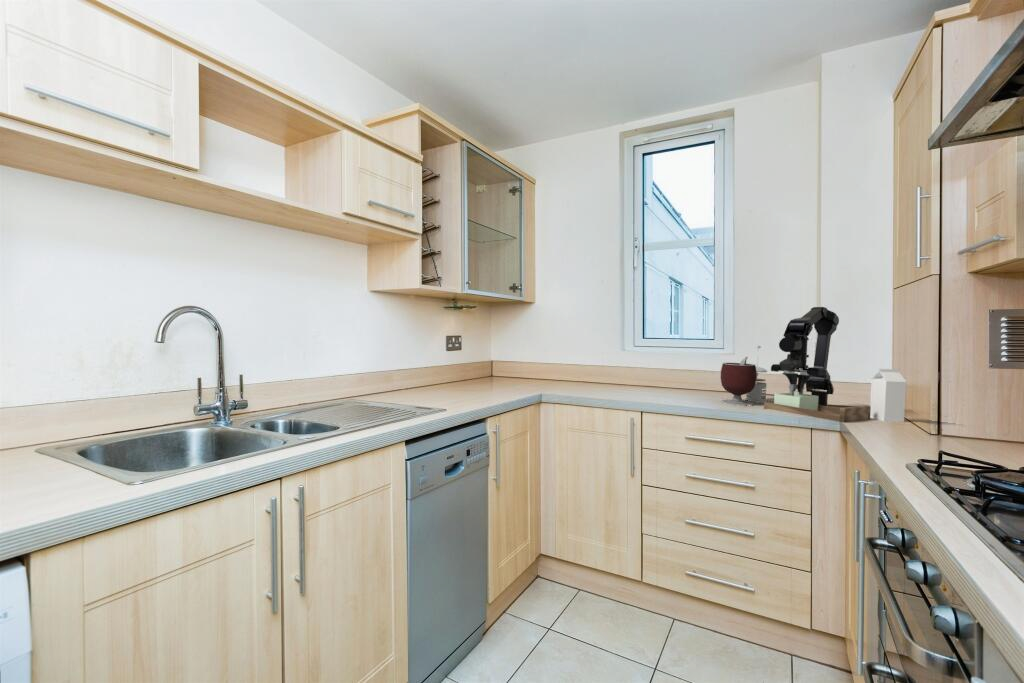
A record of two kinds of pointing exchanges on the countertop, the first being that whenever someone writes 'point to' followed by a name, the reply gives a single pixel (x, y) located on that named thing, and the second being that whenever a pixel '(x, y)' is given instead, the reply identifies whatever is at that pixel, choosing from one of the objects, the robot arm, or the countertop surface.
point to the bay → (827, 412)
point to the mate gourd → (738, 380)
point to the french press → (758, 387)
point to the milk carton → (888, 396)
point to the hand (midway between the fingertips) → (796, 391)
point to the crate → (797, 399)
